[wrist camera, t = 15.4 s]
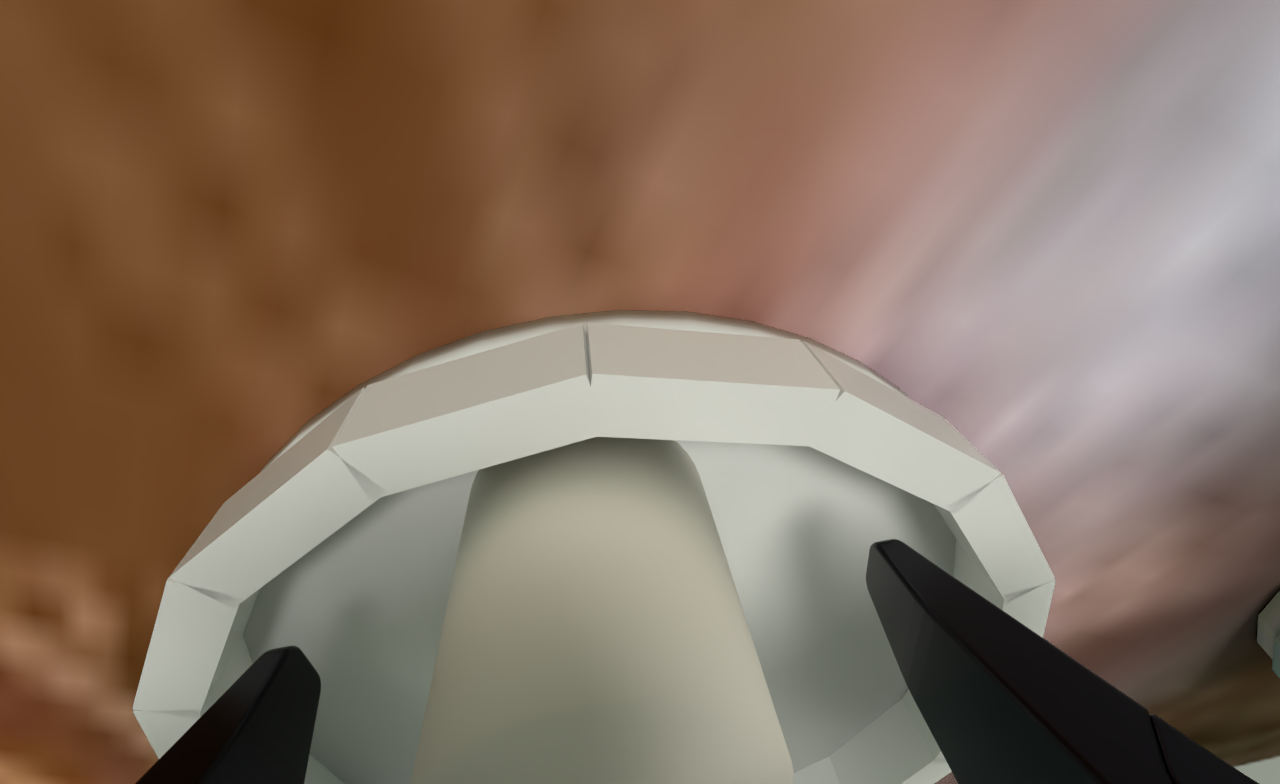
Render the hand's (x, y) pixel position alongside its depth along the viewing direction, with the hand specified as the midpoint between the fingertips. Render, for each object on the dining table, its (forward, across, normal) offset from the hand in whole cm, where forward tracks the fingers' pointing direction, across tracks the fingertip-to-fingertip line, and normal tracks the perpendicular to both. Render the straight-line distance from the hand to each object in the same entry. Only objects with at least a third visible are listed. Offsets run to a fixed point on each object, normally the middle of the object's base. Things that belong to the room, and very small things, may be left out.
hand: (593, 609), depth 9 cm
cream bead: (+2, 0, 0) cm, 2 cm away
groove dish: (+3, 0, +5) cm, 6 cm away
